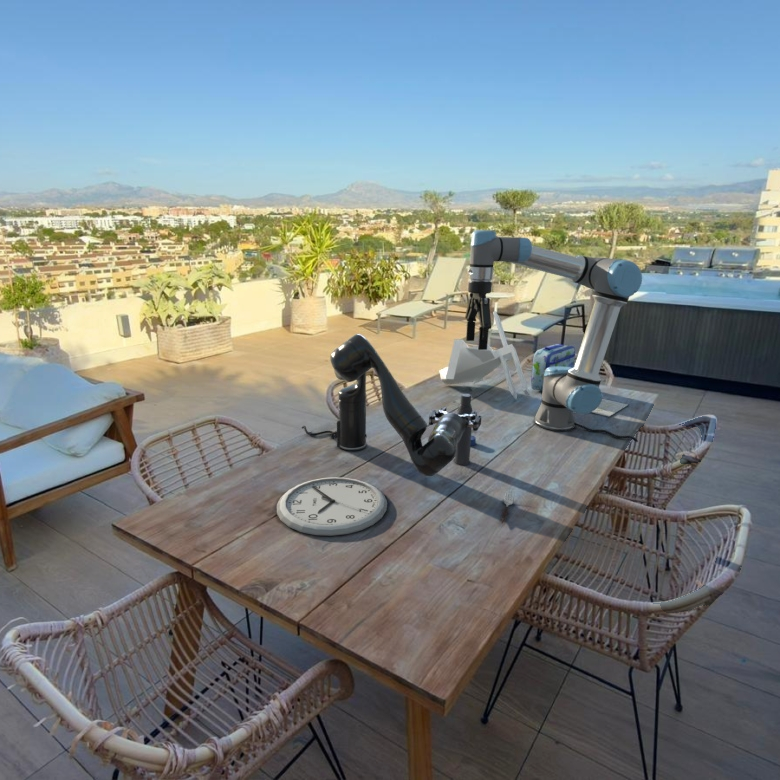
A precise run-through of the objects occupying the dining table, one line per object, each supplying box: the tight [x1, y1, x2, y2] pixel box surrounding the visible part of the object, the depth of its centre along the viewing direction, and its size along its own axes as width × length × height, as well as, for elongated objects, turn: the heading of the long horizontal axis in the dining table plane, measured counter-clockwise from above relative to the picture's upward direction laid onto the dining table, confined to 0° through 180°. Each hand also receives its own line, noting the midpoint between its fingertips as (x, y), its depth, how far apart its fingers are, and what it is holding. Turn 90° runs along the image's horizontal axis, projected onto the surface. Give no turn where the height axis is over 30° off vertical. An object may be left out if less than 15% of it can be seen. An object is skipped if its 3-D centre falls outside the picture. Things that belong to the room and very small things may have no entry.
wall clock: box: [276, 476, 388, 537], centre depth 142 cm, size 30×2×30 cm
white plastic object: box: [438, 310, 531, 400], centre depth 245 cm, size 37×45×31 cm
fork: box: [501, 490, 516, 524], centre depth 141 cm, size 3×16×2 cm, turn 160°
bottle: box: [454, 393, 473, 466], centre depth 167 cm, size 5×5×23 cm
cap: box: [470, 434, 477, 447], centre depth 185 cm, size 4×4×2 cm
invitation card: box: [591, 398, 629, 418], centre depth 226 cm, size 21×1×15 cm
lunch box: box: [530, 343, 576, 392], centre depth 248 cm, size 26×11×21 cm, turn 134°
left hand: (459, 411), depth 154 cm, fingers open, 8 cm apart
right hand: (476, 345), depth 175 cm, fingers open, 13 cm apart
